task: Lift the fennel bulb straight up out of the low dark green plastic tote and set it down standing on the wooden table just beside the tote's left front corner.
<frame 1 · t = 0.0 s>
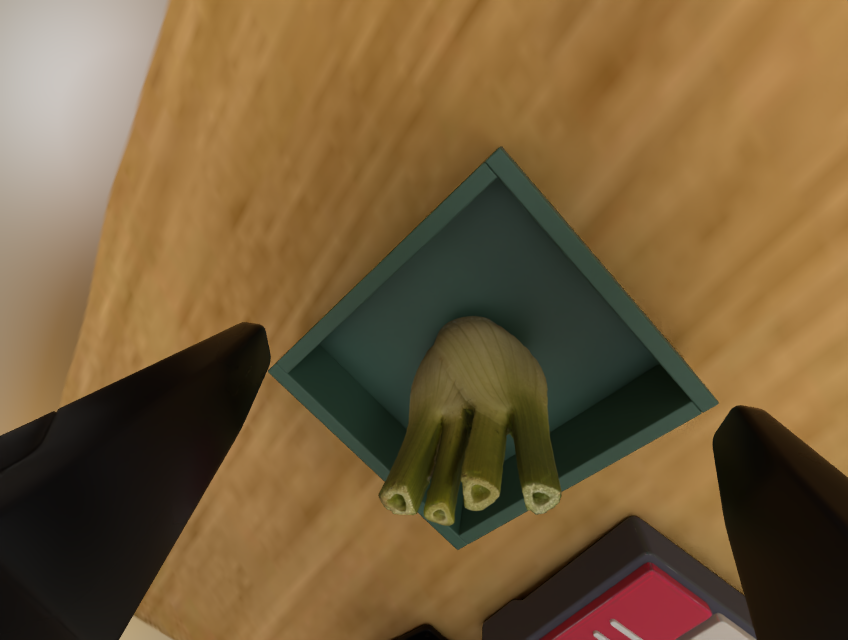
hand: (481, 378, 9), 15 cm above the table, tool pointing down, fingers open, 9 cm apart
fennel bulb: (479, 349, 25), resting on tote
tote: (479, 347, 25), on the table
calculator: (610, 612, 31), on the table
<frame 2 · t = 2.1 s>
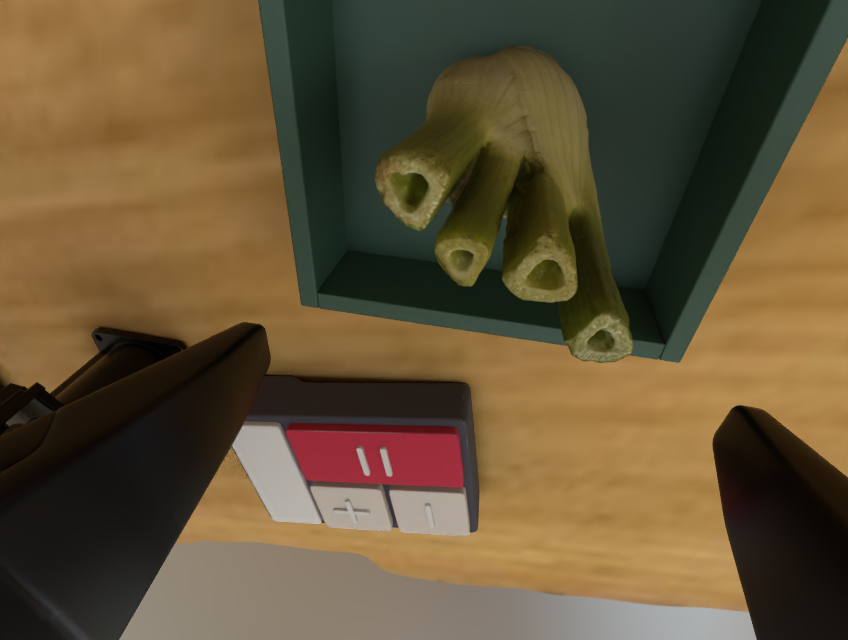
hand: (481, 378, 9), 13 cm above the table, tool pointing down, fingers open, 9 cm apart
fennel bulb: (512, 120, 17), resting on tote
tote: (512, 119, 18), on the table
calculator: (368, 434, 31), on the table
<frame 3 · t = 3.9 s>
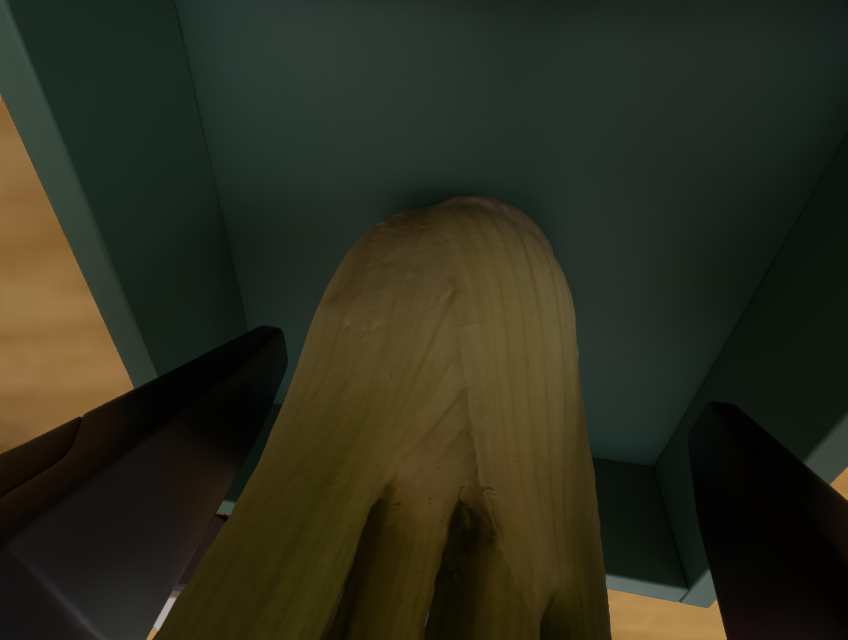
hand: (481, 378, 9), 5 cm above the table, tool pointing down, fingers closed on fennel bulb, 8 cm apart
fennel bulb: (471, 272, 12), resting on tote, touching gripper
tote: (472, 268, 13), on the table
calculator: (316, 572, 26), on the table
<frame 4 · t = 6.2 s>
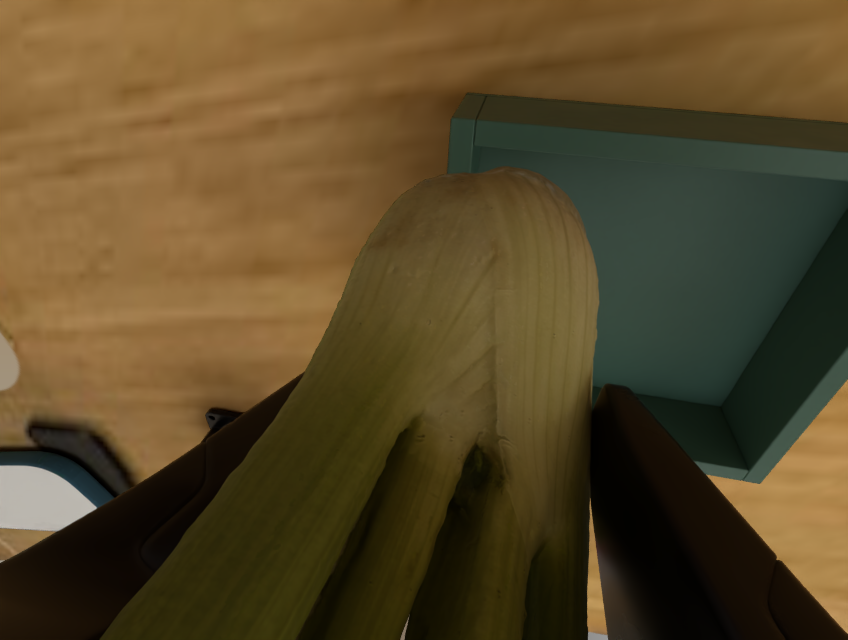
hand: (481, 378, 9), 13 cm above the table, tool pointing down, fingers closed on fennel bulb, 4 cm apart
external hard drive: (28, 481, 47), on the table
fennel bulb: (501, 246, 13), point 8 cm above the table, touching gripper
tote: (618, 278, 21), on the table
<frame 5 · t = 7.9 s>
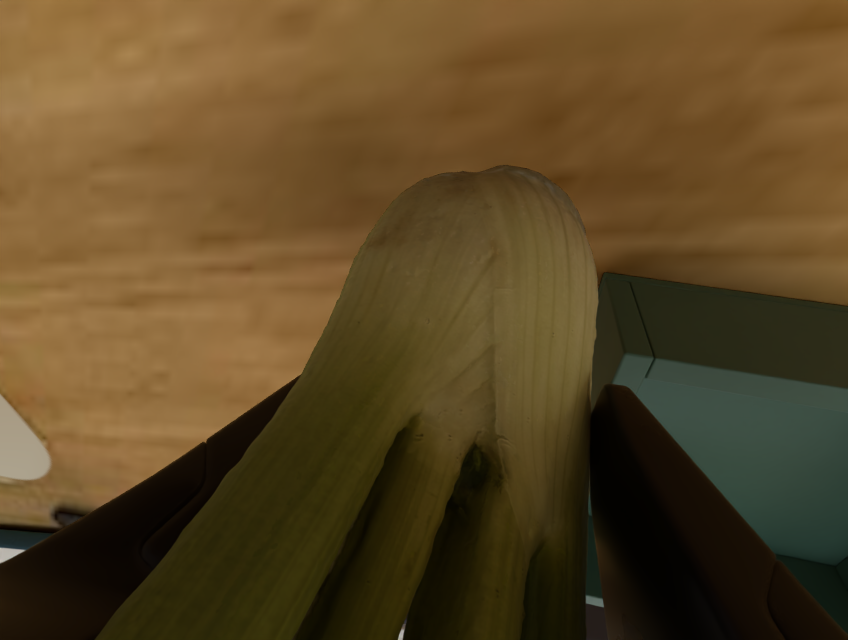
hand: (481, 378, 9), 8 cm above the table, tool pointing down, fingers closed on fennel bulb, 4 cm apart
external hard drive: (49, 554, 45), on the table
fennel bulb: (500, 245, 13), point 3 cm above the table, touching gripper
tote: (742, 447, 19), on the table
calculator: (506, 608, 32), on the table
when the fingers open (5 cm above the table, at t = 8.9 s): fennel bulb stays where it is, on the table.
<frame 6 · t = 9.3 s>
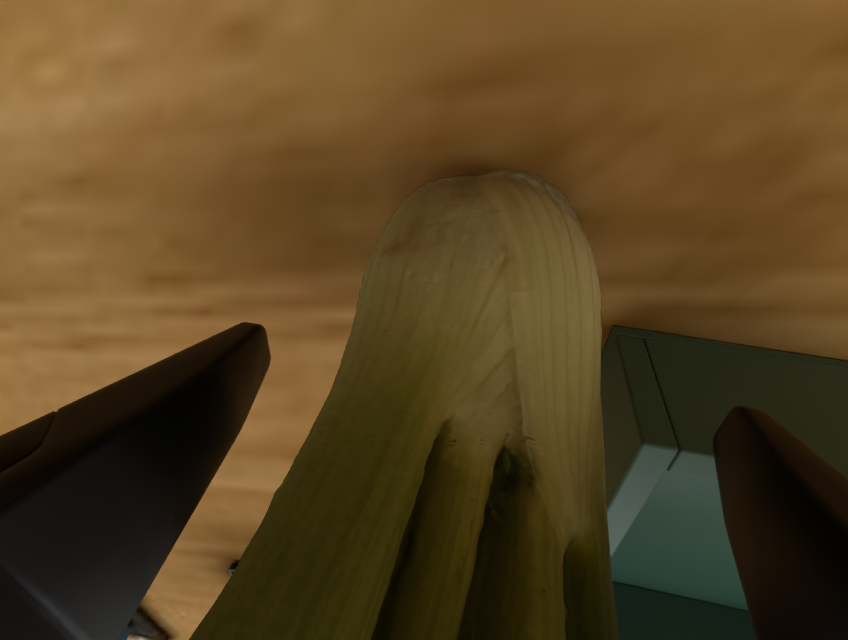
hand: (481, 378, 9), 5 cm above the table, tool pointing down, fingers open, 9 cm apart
fennel bulb: (496, 247, 13), on the table
tote: (768, 513, 17), on the table
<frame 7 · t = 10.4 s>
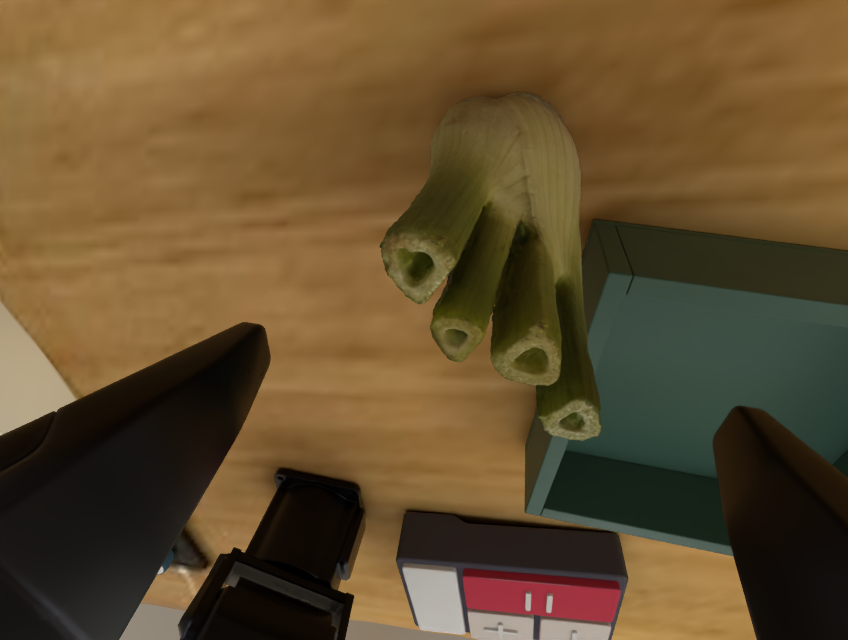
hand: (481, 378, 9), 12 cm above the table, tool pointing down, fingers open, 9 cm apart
fennel bulb: (508, 159, 18), on the table
tote: (717, 381, 22), on the table
calculator: (508, 556, 35), on the table
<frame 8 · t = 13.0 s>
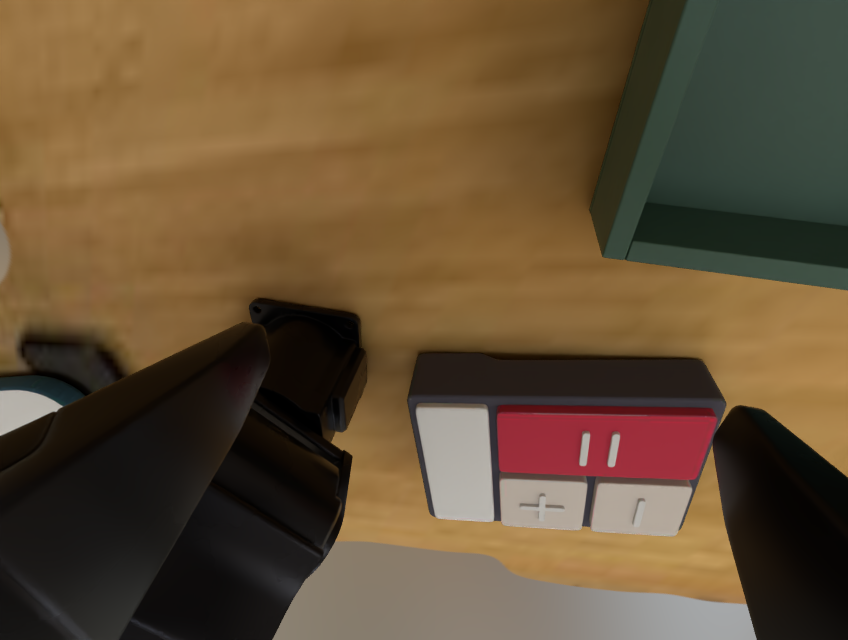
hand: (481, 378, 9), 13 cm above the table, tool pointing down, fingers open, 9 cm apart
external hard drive: (20, 422, 40), on the table
calculator: (548, 421, 27), on the table
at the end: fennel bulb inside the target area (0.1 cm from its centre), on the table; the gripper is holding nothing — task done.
